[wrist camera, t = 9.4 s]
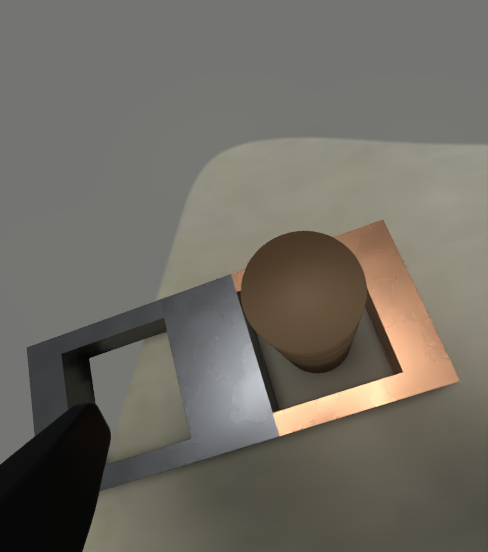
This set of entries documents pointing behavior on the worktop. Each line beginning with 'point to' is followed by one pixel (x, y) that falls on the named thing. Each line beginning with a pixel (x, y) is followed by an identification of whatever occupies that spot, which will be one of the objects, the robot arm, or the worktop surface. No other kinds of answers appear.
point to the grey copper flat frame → (242, 362)
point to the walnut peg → (305, 298)
